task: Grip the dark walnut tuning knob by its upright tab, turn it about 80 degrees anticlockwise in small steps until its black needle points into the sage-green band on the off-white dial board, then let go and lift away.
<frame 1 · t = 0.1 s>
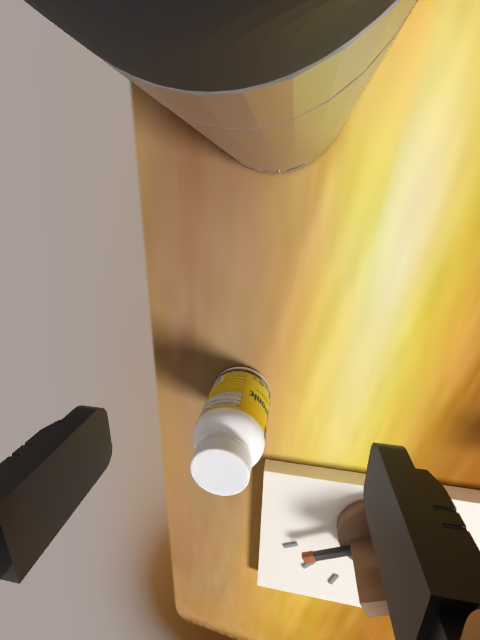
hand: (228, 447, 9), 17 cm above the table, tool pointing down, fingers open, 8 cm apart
knob: (365, 567, 27), point 5 cm above the table, hinge at 0.0°
supplement bottle: (243, 388, 29), on the table
dial board: (368, 539, 33), on the table
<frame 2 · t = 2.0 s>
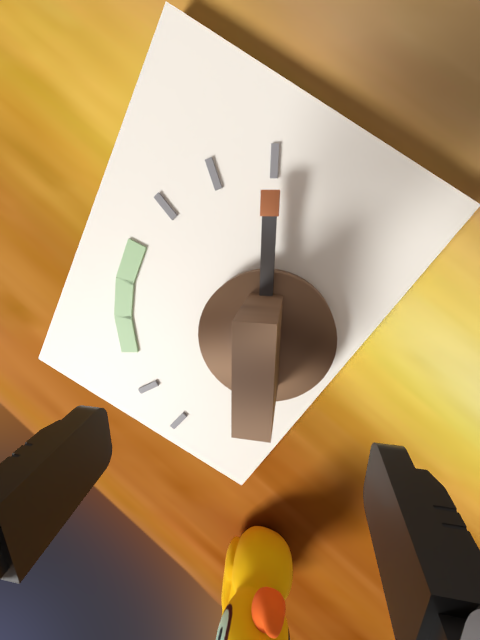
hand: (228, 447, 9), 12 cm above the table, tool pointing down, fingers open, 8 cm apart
knob: (262, 318, 15), point 5 cm above the table, hinge at 0.0°
duckling: (261, 536, 27), on the table
dial board: (218, 292, 20), on the table
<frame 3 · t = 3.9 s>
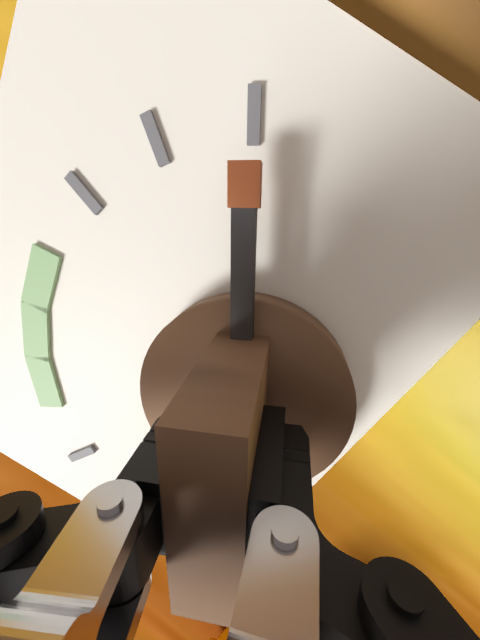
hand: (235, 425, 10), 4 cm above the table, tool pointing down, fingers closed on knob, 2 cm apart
knob: (232, 383, 9), point 5 cm above the table, hinge at 0.0°, touching gripper
duckling: (247, 630, 20), on the table
dial board: (177, 322, 14), on the table
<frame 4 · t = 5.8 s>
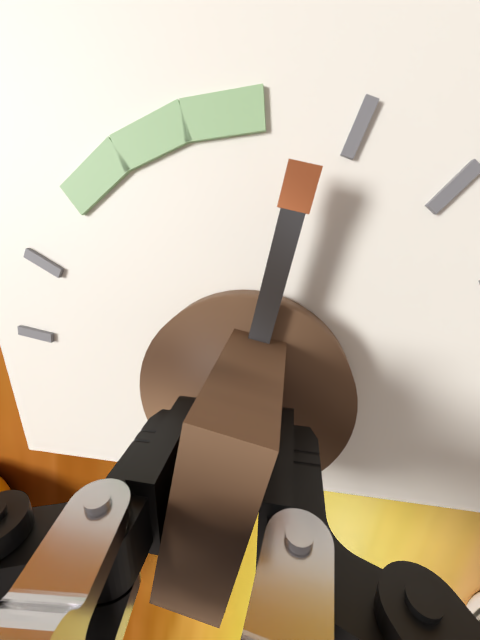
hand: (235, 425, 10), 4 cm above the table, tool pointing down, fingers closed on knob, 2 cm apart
knob: (246, 385, 9), point 5 cm above the table, hinge at 47.5°, touching gripper
dial board: (253, 280, 13), on the table
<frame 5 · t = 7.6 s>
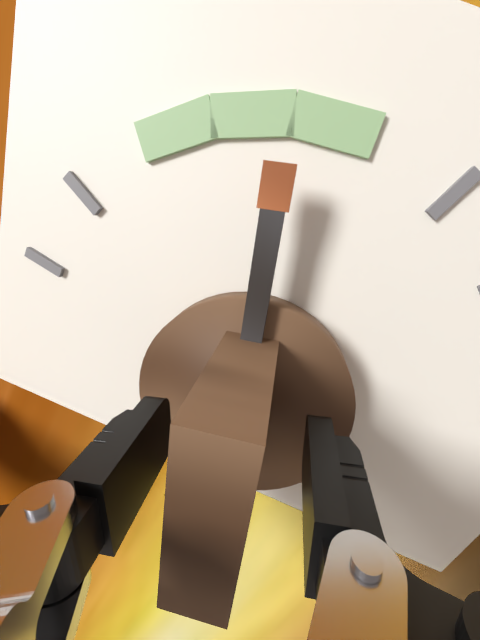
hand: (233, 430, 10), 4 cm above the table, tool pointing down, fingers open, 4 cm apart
knob: (239, 385, 9), point 5 cm above the table, hinge at 72.7°
dial board: (287, 289, 12), on the table
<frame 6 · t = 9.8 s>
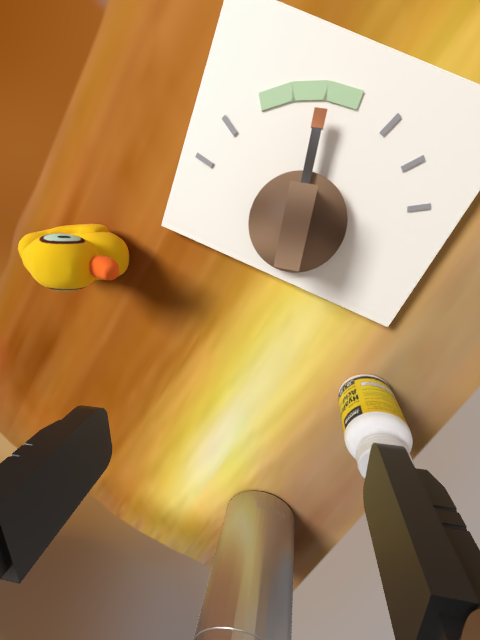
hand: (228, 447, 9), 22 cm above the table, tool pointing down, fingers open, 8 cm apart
knob: (301, 197, 23), point 5 cm above the table, hinge at 73.3°
supplement bottle: (363, 393, 32), on the table
duckling: (109, 248, 32), on the table
dial board: (317, 177, 26), on the table
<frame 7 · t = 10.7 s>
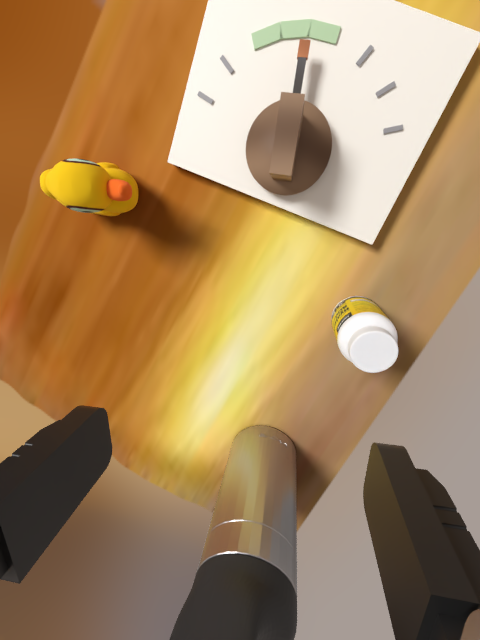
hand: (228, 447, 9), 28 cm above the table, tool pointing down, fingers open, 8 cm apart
knob: (291, 117, 26), point 5 cm above the table, hinge at 73.3°
supplement bottle: (354, 317, 36), on the table
duckling: (119, 192, 36), on the table
dial board: (305, 111, 30), on the table
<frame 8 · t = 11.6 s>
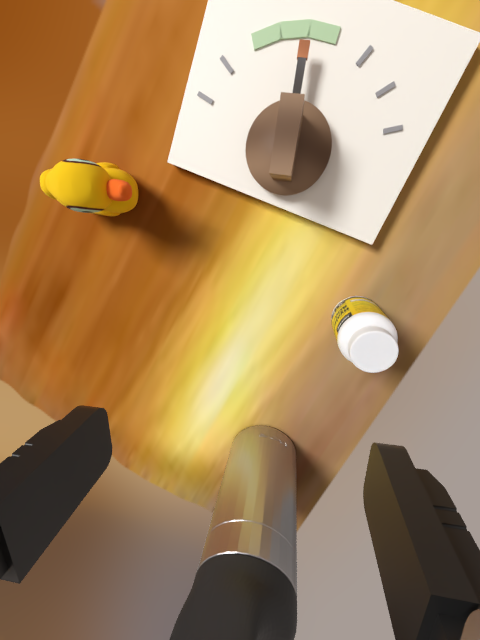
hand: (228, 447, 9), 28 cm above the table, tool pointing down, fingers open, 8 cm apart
knob: (291, 117, 26), point 5 cm above the table, hinge at 73.3°
supplement bottle: (354, 317, 36), on the table
duckling: (118, 192, 36), on the table
dial board: (304, 111, 30), on the table
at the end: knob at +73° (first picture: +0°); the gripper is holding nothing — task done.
